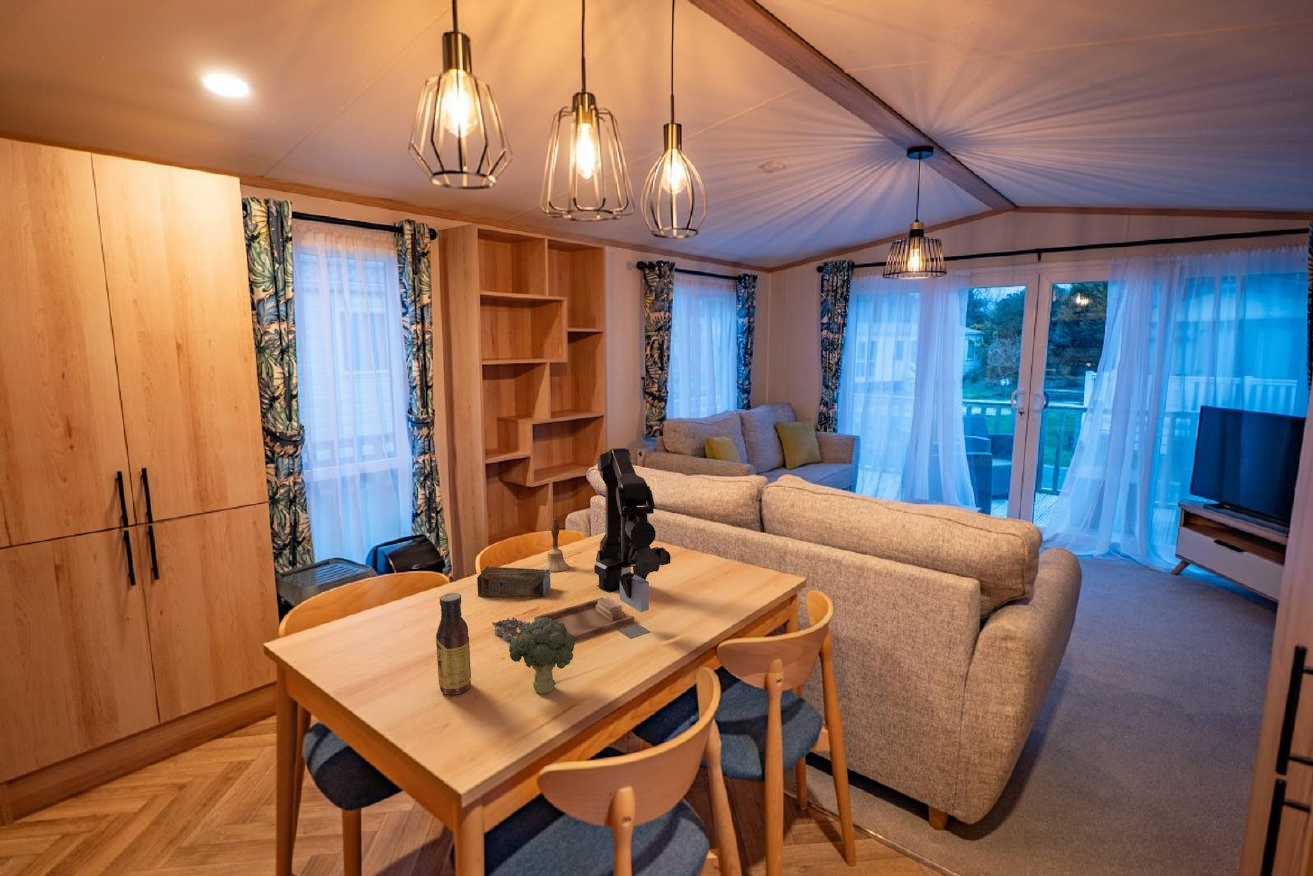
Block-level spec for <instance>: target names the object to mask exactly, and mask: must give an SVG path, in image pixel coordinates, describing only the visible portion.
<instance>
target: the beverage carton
mask: <svg viewBox="0 0 1313 876" xmlns="http://www.w3.org/2000/svg"><path fill="white" fill-rule="evenodd" d="M476 579H477V580H476V582H477V583H476V584H477V596H478V597H488V596H493V597H492V598H498V597H499V598H514V597H535V598H534V599H541V598H545V597H546V596H545V595H547V594H548V593H549V591H550V589H551V572H550V570H545V569H542V568H540V569H539V568H525V567H524V568H522V567H521V568H519V567H499V566H498V567H497V566H495V567H493V566H486V567H485V568H484V569H483V570H482V571H481V572H480V574H479V575H477V578H476Z"/></svg>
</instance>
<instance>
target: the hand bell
mask: <svg viewBox="0 0 1313 876" xmlns="http://www.w3.org/2000/svg"><path fill="white" fill-rule="evenodd" d="M550 533H551V536H552V548H551V549H550V550H548V552H547V558H546V561H545V563H543V565H542V567H541V569H542V568H543V569H545V570H550V573H558V572H559V571H561V572H564V571H566V570H565V569H567V568H568V567H570V565H569V564H568V563H567V562H566V561H565V559H564V554H563V550H561V549H559V541H558V539H559V538H558V537H559V535H560V524H559V521H558V518H557V517H554V518H552V522H551V526H550ZM568 569H569V568H568ZM568 569H567V570H568ZM563 570H564V571H563ZM559 573H560V572H559Z"/></svg>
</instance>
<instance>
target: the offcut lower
mask: <svg viewBox="0 0 1313 876" xmlns="http://www.w3.org/2000/svg"><path fill="white" fill-rule="evenodd" d="M596 611H598V612H599V613H601V614H602V615H604V616H605V617H607V618H608V619H610V620H611V621H614V620H618V619H621V618H624V616H625V611H623V610H622V611H619V612H615V613H612V614H609V613H608V612H606V611H605V610H603V609H601V608H600V607H598V604H597V605H596Z"/></svg>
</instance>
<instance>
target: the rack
mask: <svg viewBox="0 0 1313 876" xmlns="http://www.w3.org/2000/svg"><path fill="white" fill-rule="evenodd" d="M602 599H605V598H604V597H600V598H596V599H593V600H590V601H586V602H582V603H578V604H575V605H571V606H569V607H566V608H562V609H558V610H553V611H551V612H547V613H543V614H541V615H537V616H534V617H533V622H534V621H537V620H538V619H540V618H542V617H547V618H550V619H552V620H556V621H557V622H562V623H563V624H564V625H565V627H566V630H567V632H568V633H570V634H571V635H572V636H573V638H574V642H576V641H579V640H582V639H586V638H588V637H591V636H595V635H598V634H601V633H604V632H606V631H610V630H613V629H616V628H617V629H618V628H621V627H622V626H625V625H626V626H627V625H630V624H632V623H635V616H634V615H630V616H626V615H624V618H621V619H618V620H614V621H611V620H610V619H608V618H607V617H605V616H604V615H602V614H601V613H599V612H598V611H596V605H597V604H598V600H602Z"/></svg>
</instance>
